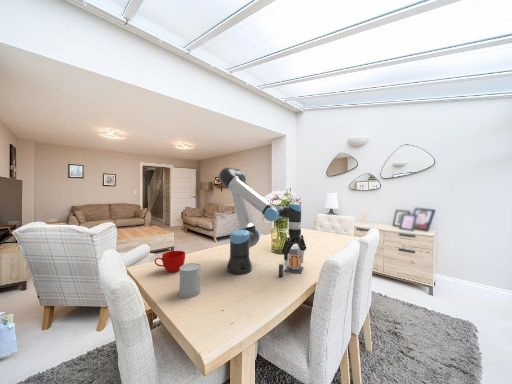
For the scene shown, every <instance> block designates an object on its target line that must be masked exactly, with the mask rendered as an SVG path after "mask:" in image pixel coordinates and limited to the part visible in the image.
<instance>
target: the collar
mask: <svg viewBox="0 0 512 384" xmlns="http://www.w3.org/2000/svg"><path fill="white" fill-rule="evenodd" d="M288 255H289V254H288ZM289 266H291V267H302V261H301V256H299V255H289Z"/></svg>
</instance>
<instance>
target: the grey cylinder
mask: <svg viewBox="0 0 512 384" xmlns="http://www.w3.org/2000/svg"><path fill="white" fill-rule="evenodd" d="M201 270H202V269H201V264H199V263H196V262H195V263H194V262H193V263H184V264H183V265H182V266H180V270H179V296H180V297H181V298H184V299H190V298H194V297H197V296H199V294H201V292H202V291H201Z"/></svg>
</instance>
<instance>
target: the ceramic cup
mask: <svg viewBox="0 0 512 384" xmlns="http://www.w3.org/2000/svg"><path fill="white" fill-rule="evenodd" d="M185 259H186V252H185V251H183V250H169V251H166V252H164V253H162V256H161V257H158V256H157V257H156V258H155V259H154V264H155V265H156V266H158V267H164V269H165V270H166V271H167V272H168V273H177V272H180V266H182V265H185ZM157 260H161V262H162V264H159V263H157Z"/></svg>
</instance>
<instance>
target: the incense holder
mask: <svg viewBox="0 0 512 384" xmlns="http://www.w3.org/2000/svg"><path fill="white" fill-rule="evenodd" d="M299 250H301V249H300V248H299V246H298V245H295V246H294V245H292V247H291V249H290V251H289V253H288V255H299Z"/></svg>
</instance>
